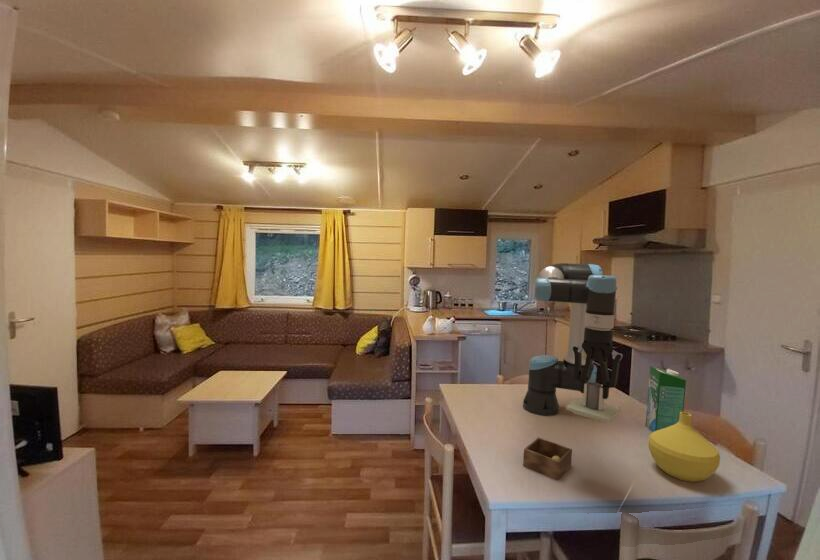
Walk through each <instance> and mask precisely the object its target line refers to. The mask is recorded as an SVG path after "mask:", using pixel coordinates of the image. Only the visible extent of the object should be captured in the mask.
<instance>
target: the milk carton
mask: <svg viewBox="0 0 820 560" xmlns="http://www.w3.org/2000/svg"><path fill="white" fill-rule="evenodd" d="M648 376H649V377H648V391H647V392H648V393H647V406H646V415H645V416H646V418H645V427H646V426H647V427H648V428H649V429H650V430H651V431H652V432H654V431H657V430H660V429H663V428H666V427H669V426H672V425H674V424H676V423H678V422H679V417H680V412H685V411H684V410H685V409H684V408H685V399H686V398H685V396H686V388H687V387H686V386H687V380H686V379H685V378H683V377H681V376H680V373H679V372H678V371H675V370H673V369H670V368H667V369H662V368H659V367H656V366H653V365H650V367H649V375H648ZM647 427H646V428H647ZM648 428H647V429H648ZM649 429H648V430H649ZM650 430H649V431H650ZM651 431H650V432H651ZM652 432H651V433H652Z"/></svg>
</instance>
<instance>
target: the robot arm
mask: <svg viewBox="0 0 820 560" xmlns="http://www.w3.org/2000/svg"><path fill="white" fill-rule="evenodd" d="M534 284H535V285H534V287H535V288H534V299H535V300H537V301H542V302H556V303H557V302H559V303H570V315H569V316H570V317H569V331H568V345H567V354H566V355H564V356H563V359H562V360H559V359H558V356H555V355H549V354H548V355H547V354H546V355H545V354H543V355H536V356H532V357H531V358H530V359H529V364H528V365H529V366H528V385H527V391H526V393H525V396H524V398H523V400H522V401H523V402H522V407H523V409H524V410H526V411H527V412H529V413H531V414H535V415H540V416H549V417H550V416H555V415H558V414H559V413H560V404H559V401H558V398H557V397H558V396H557V393H556V392H557V389H561V390H569V391H577V392H580V393H581V394H583V397H582V398H583V405H584V406H586V405H587V391H588V383H589V382H594V383H596V380H597V372H598V368H597V365H596V364H594V360H597V361H598V363H599V366H600V374H601V383H602V384H601V385H602V386H601V387H600V393H599V407H598V410H602V409H603V408H604V404H605V400H608V398H609V397H610V396H609V393H610V389H613V388H615V387H616V386H617V385H618V378H619V372H620V370H619V369H620V363H621V361H622V359H623V357H624V354H623V353H621V352H620V353H619V352H618V351H615V348H614V347H613V341H614V340H613V338H614V337H613V336H614V330H612V329H614V325H615V309H616V293H617V290H618V287H617V278H616V277H615V276H614V275H604V273H603V269H602V268H601V266H600V265H598V264H592V263H567V262H566V263H565V262H559V263H554V264H550V265H547V266H545V267H544V268H542V269H541V270H540V272H539V274H538V277H537V278H536V279H535V283H534ZM611 355H612V356H611ZM610 356H611V357H612V359H613V360H612V364H611V365H612V368H611V375H609V368H608V358H609V357H610Z"/></svg>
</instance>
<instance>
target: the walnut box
mask: <svg viewBox="0 0 820 560" xmlns="http://www.w3.org/2000/svg"><path fill="white" fill-rule="evenodd" d="M553 456H558V457H559V458H560V459H559V460H558V461H557V460H554V459H552V457H553ZM572 458H573V448H569V447H567V446H564V445H562V444H558V443H556V442H553V441H550V440H548V439H544V438H541V437H537V438H536V439H534V441H532V442H531V443H530V444H527V446H526V447H525V448H524V449H523V459H522V460H523V461H522V462H523V463H522V465H523V467H525V468H529V469H530V470H533V471H535V472H537V473H540V474H543V475H545V476H547V477H549V478H552V479H553V480H557V481H559V480H560V478H562V477H563V476H564V474H565V473H566V472H568V470H569V469H570V468H571V466H572Z"/></svg>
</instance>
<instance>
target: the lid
mask: <svg viewBox="0 0 820 560" xmlns="http://www.w3.org/2000/svg"><path fill="white" fill-rule="evenodd" d="M601 386H603V384H601V383H599V382H595V383H594V382H589V383H588V391H587V405H586V406H584V405H583V397H578V398H577V399H575V400H574V401H572V402H571V403H569V404H568V405H566V406H565V411H569V412H572V414H575V415H578V416H582V417H584V418H588V419H592V420H595V421H598V422H602V423H606V422H607V423H609V422H610V421H612V419H614V417H616V415H617V414H618V413H620V411H621V407H617V406H614V405H609V404H606V403H604V408H603V409H602V410H598V407H599V393H600V387H601Z"/></svg>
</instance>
